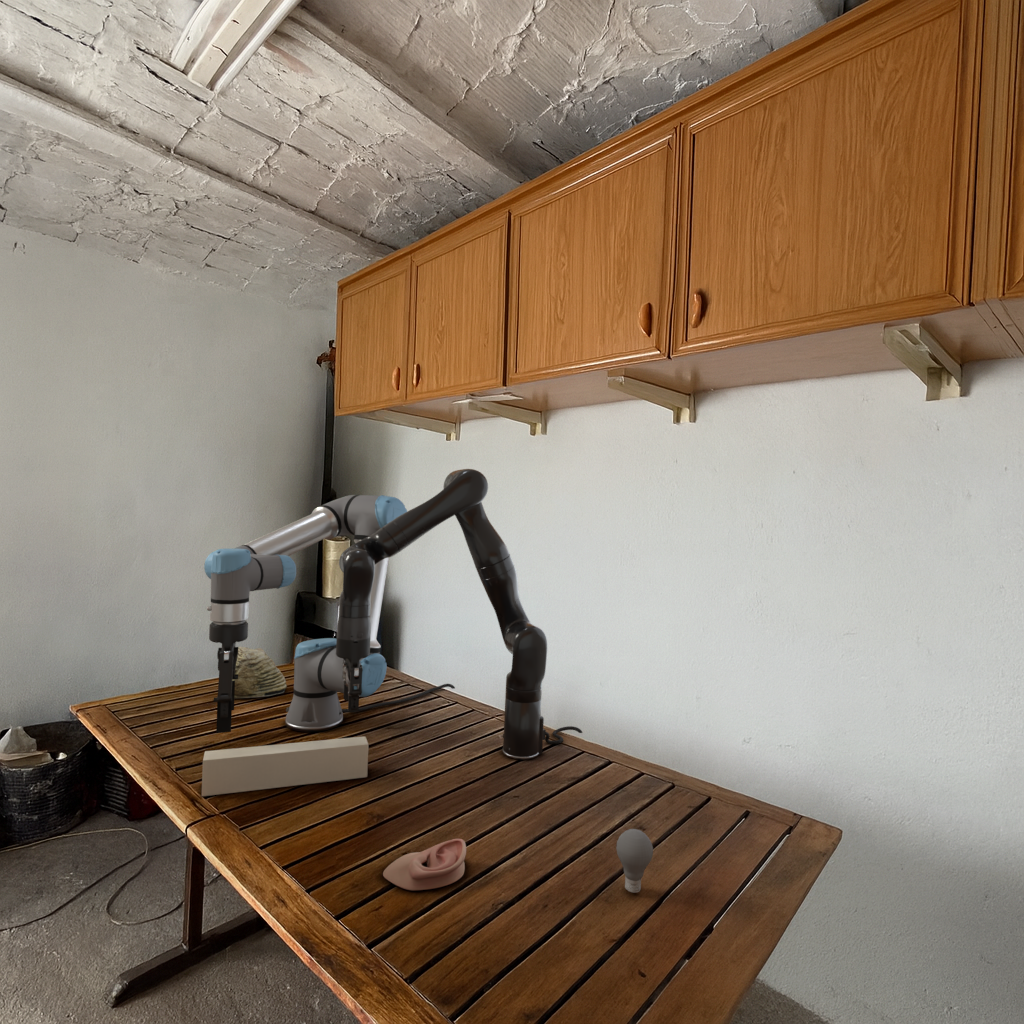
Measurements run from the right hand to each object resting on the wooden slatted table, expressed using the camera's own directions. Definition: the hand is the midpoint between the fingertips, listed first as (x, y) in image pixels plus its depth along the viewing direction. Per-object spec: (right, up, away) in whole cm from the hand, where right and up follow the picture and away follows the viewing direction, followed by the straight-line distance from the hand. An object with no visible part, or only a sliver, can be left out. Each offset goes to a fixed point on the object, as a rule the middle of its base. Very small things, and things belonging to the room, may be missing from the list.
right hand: (350, 705), depth 145 cm
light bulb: (+57, -19, -39) cm, 72 cm away
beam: (-13, -15, -4) cm, 21 cm away
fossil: (-44, -13, +53) cm, 70 cm away
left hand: (-24, 0, -9) cm, 26 cm away
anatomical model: (+22, -18, -36) cm, 46 cm away
